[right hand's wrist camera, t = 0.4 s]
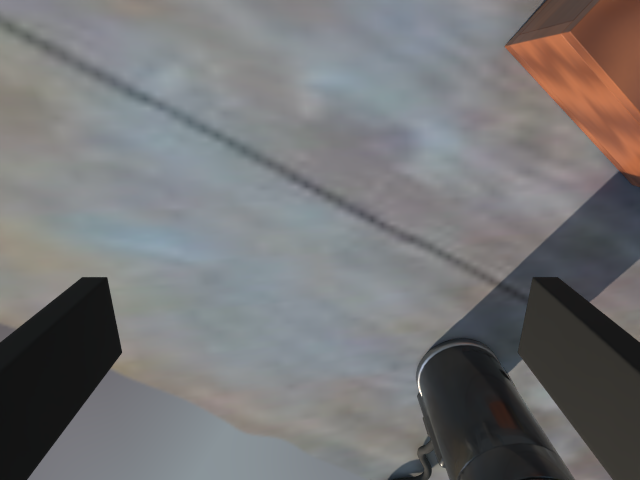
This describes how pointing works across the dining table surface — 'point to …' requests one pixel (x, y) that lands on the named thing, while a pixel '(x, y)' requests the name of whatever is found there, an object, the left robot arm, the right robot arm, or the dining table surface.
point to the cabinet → (590, 70)
